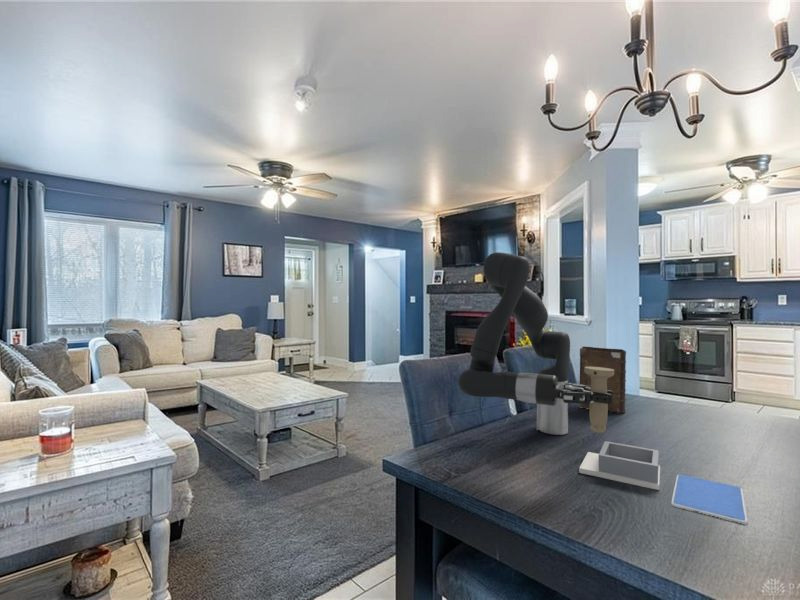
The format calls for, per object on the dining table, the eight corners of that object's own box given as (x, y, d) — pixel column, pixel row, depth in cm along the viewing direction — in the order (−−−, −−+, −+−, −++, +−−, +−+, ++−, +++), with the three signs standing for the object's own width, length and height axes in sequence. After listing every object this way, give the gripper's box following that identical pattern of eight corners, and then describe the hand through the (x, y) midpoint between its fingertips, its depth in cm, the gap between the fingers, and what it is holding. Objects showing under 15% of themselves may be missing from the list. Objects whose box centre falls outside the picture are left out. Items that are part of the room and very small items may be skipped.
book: (626, 411, 163) (627, 349, 163) (624, 415, 157) (624, 350, 157) (581, 405, 173) (582, 346, 173) (577, 408, 167) (578, 347, 167)
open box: (579, 472, 103) (579, 451, 103) (588, 456, 114) (588, 437, 114) (659, 490, 94) (659, 467, 94) (660, 470, 105) (660, 450, 105)
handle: (608, 436, 94) (609, 371, 94) (580, 430, 98) (581, 367, 98) (615, 432, 97) (617, 369, 97) (588, 426, 102) (589, 365, 102)
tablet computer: (748, 528, 79) (748, 522, 79) (670, 508, 87) (670, 502, 87) (742, 492, 94) (742, 486, 94) (676, 478, 102) (676, 472, 102)
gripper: (531, 378, 98) (612, 386, 90) (541, 370, 111) (613, 376, 103) (530, 409, 98) (611, 420, 90) (541, 397, 111) (612, 406, 103)
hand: (612, 397), depth 96 cm, fingers closed on handle, 3 cm apart
